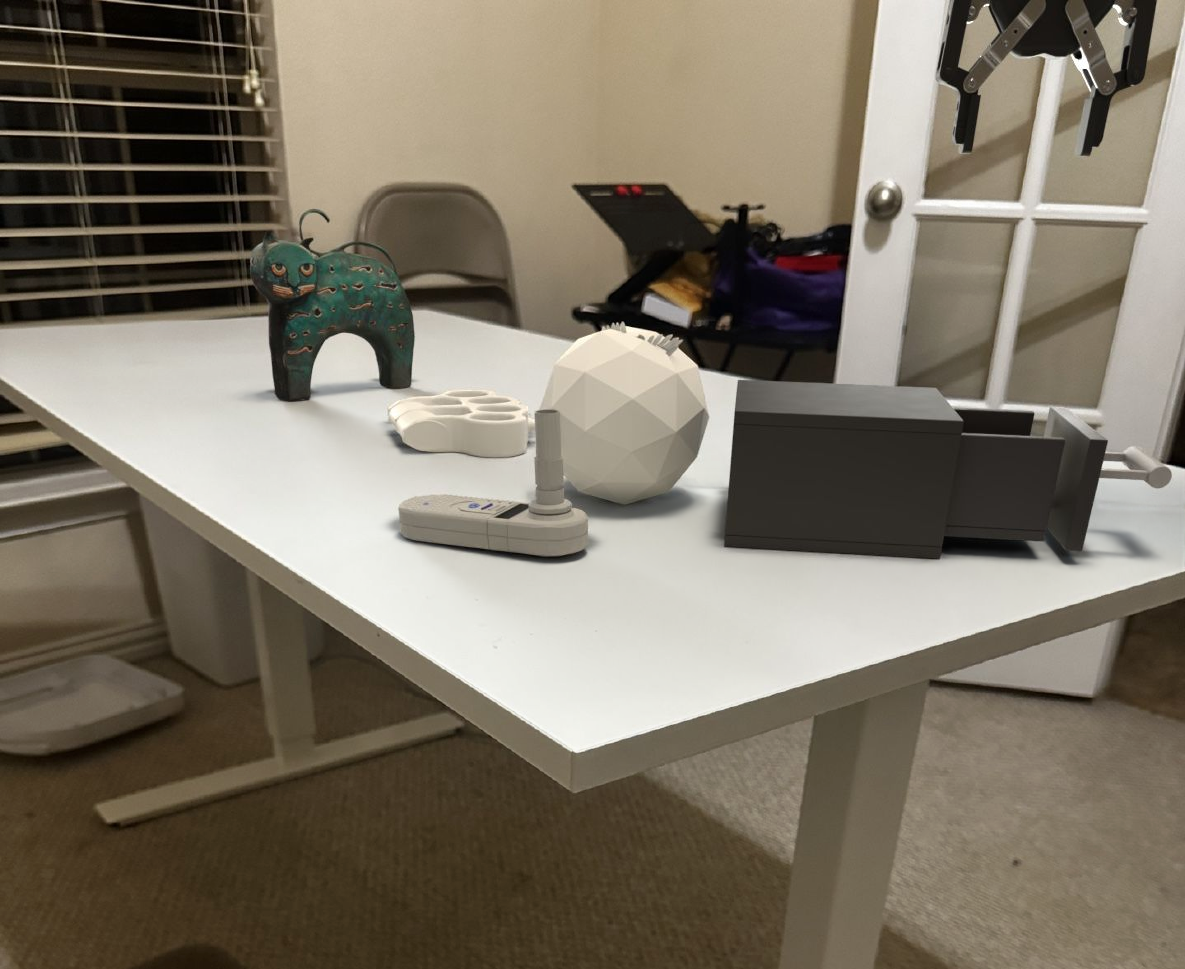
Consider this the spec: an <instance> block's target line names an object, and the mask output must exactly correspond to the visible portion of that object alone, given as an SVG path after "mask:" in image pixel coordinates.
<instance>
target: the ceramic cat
mask: <svg viewBox="0 0 1185 969" xmlns="http://www.w3.org/2000/svg"><path fill="white" fill-rule="evenodd" d="M313 213H314V214H318V215H320V216H321V217H322V218H324V220H325V221H326V223H327V224H329V223H330V222H331V221H330V218H329V215H327V213H326V212H325V211H323V210H321V209H318V208H311V209H308V210H306V211H304V212H303V213H302V214H301V215H300V218H299V220H298V232H299V238H300V240H299V241H296V242H295V241H294V242H290V241H287V240H282V239H278V238H277V237H276V236H275V235H274V233H273V231H271V229H268V230H267V231H266V232H265V233H264V235H263V236H264V237H263V239H262V242H261V243H259V244H257V245H256V246H255V247H254V248H253V249H252V251H251V254H250V257H249V260H250V262H249V263H250V265H249V271H250V272H249V273H250V278H251V281H252V284H253V286H254V287H255V289H256V290H257V291H258V293H259V294H260V295H261V296H262V297H264V298H265V299H266V301H267V303H268V314H267V315H268V320H267V322H268V332H267V333H268V334H267V336H268V347H269V348H268V349H269V353H270V362H271V369H272V370H271V372H272V380H273V388H274V394H275V397H276V398H278V399H280V400H282V401H287V402H298V401H306V400H310V398H311V391H312V390H311V389H312V388H311V384H312V378H313V376H312V375H313V369H314V365H315V363H316V359H317V357H318V355H319V353H320V350H321V349H322V347H323V345H324V344H325V342H326V341H327V340H328V339H330V338H332V337H334V336H336V335H339V334H352V335H355V336H358V337H359V338H362V339H363V340H364V341H365V342H367V343H368V344H369V346H371V348H372V349H373V351H374V355H375V360H376V363H377V369H378V381H379V385H380V386H381V387H385V388H387V389H405V388H409V387H411V386H412V378H413V376H412V375H413V359H414V348H415V341H416V340H415V338H416V336H415V335H416V334H415V323H414V315H413V310H412V307H411V303H410V300H409V298H408V297H407V294H406V291H405V289H404V286H403V284H402V282H401V280H400V278H399V275H398V271H397V267H396V265H395V262H394V259H393V258H392V256H391V255H390V253H389V252H388V251H387V250H386V248H384V247H382V246H379V245H378V244H375V243H372V242H367V241H359V240H355V241H350V242H347V243H344V244H342V245H340V246H338V247H335V248H333V249H330V250H329V251H326V252H319V251H317V250H314V249H312V248H311V247H310V245H311V243H312V242H313V241H314V237H306V238H304V236H303V231H302V230H303V229H302V225H303V221H304V219H305V218H306V216H307V215H309V214H313ZM352 246H364V247H368V248H372V249H374V250H377V251H379V252H380V253H382V254H383V256H385V258H386V259H387V260H388V261H389V263H390V265H391V268H392V269H391V268H390V267H388V266H387V265H386V264H384V263H383V262H382V261H380V260H379V259H377V258H375V257H371V256H369V255H368V256H367V255H364V254H359V253H352V252H347V251H345V250H346V249H347V248H349V247H352Z"/></svg>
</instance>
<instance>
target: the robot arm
mask: <svg viewBox="0 0 1185 969" xmlns="http://www.w3.org/2000/svg"><path fill="white" fill-rule="evenodd" d="M1157 3H1158V0H949V3H948V8H947V12H946V18H945V24H944V28H943V33H942V37H941V38H942V39H941V44H940V49H939V53H938V57H937V58H938V59H937V65H936V69H935V75H934V78H935V81H936V83H937V84H939V85H943V86H945V87H948V88H949V89H952V90H953V91H954V92H955V93H956V106H955V112H954V120H953V125H952V126H953V127H952V131H951V139H952V144H953V145H958V154H959V155H960V154H961V155H963V154H965V155H970V154H972V152H973V147H974V143H975V136H976V130H977V124H978V118H979V117H978V116H979V110H980V105H981V99H982V98H981V97H982V94H979V89H980V87H982V85H983V84H984V83H985V82H986V80H987V79H988V78H989V77H990V76H991V74H992V73H993V72H994V71H995V69H996V68H997V67H998V66H1000V64H1001V63H1002V62H1003V61H1004V60H1005V58H1007V56H1008V55H1009V54H1010V55H1011V56H1012V57H1015V59H1016V60H1028V59H1031V58H1035V57H1041V58H1043V59H1046V60H1047V59H1048V60H1062V59H1065V58H1067V57H1069V56H1071V58H1072V60H1073V62H1074V64H1075V66H1076V68H1077V70H1078V71H1080V73H1081V75H1082V77H1083V79H1084V81H1085V83H1086V87H1087V88H1088V90H1089V97H1088V98H1085V99H1084V103H1083V109H1082V113H1081V118H1080V123H1079V129H1078V134H1077V139H1076V144H1075V147H1074V148H1075V149H1074V157H1077V158H1078V157H1079V158H1081V157H1085V158H1086V157H1087V158H1089V157H1090V156H1091V155H1092V152H1093V148H1099V147H1100V146H1101V143H1102V142H1103V139H1104V134H1105V129H1106V124H1107V121H1108V116H1109V110H1110V106H1111V101H1112V99H1113V97H1114V96H1115V95H1116V94H1117V93H1118V92H1120V91H1124V90H1126V89H1128V88H1131V87H1134V86H1137V85H1139V84H1141V83H1142V82H1143V80H1144V79H1145V76H1146V71H1147V70H1146V69H1147V64H1148V59H1149V51H1150V45H1151V41H1152V40H1151V39H1152V33H1153V27H1154V23H1155V22H1154V21H1155V16H1156V10H1157ZM984 7H988V11H989V13H990V16H991V18H992V20H993V22H994V25H995V27H996V29H997V31H998V33H997V34H996V36H994V38H993V39H992V40H991V42H989V44H988V45H987V47H986V48H985V49H984V50H983V51H982V52H981V54H980V55H979V57H978V58H977V60H976V61H975V62H974V63H973V64H972V66H971V67H970V68H969V69H968V70H966V69H964V68H961V67H960V66H959V64H960V60H961V59H960V58H961V54H962V50H963V45H964V44H963V43H964V39H965V34H966V29H967V24H971V23H973V22H974V21H975V20H977V18H978V17H979V14H980V11H981V10H982V8H984ZM1113 8H1115V9H1116V11H1117V16H1118V21H1119V24H1121V25H1123V26H1125V29H1124V35H1123V40H1122V48H1121V54H1120V61H1119V68H1118V71H1115V72H1113V70H1112V68H1111V66H1110V64H1109V61H1108V59H1107V54H1106V50H1105V48H1104V45H1103V43H1102V41H1101V39H1100V37H1099V35H1098V32H1097V30H1096V28H1097V27H1098V26H1099V25H1100V23H1101V22H1102V21H1103V20H1104V19H1105V18H1106V16H1107V15H1108V14H1109V12H1110V11H1111V10H1112V9H1113Z"/></svg>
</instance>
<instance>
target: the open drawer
mask: <svg viewBox="0 0 1185 969" xmlns="http://www.w3.org/2000/svg"><path fill="white" fill-rule="evenodd" d="M952 408H953V409H954V410H955V411H956V412H957V414H958V415H959V416H960V417H961V419H962V420H963V421H964V423H963V429H962V434H961V441H960V447H959V452H958V458H957V464H956V470H955V476H954V481H953V487H952V493H951V499H950V504H949V510H948V516H947V522H946V527H945V533H944V537H953V538H970V539H988V540H990V539H991V540H1005V541H1007V540H1008V541H1025V542H1026V541H1027V542H1028V541H1029V542H1044V541H1045V537H1046V533H1047V530H1048V531H1049V533H1051V535H1052V536H1053V537H1054V538H1055V540H1056V541H1057V542H1058V543H1059V545H1060V546H1061V547H1062V548H1063V549H1064V550H1065V551H1068V552H1083V549H1084V545H1085V541H1086V536H1087V533H1088V529H1089V528H1088V527H1089V524H1090V520H1091V517H1092V516H1091V514H1092V511H1093V507H1094V502H1095V499H1096V494H1097V490H1098V485H1099V483H1100V482H1099V481H1100V479H1112V480H1113V479H1114V480H1131V481H1132V480H1133V481H1134V480H1135V481H1143V482H1145V484H1147V485H1149V486H1150V487H1151V488H1153V489H1163V488H1165V487H1166V486H1167V485H1169V484H1170V482H1171V481H1172V479H1173V478H1172V477H1173V472H1172V470H1171V469H1170V468H1169V467H1168V466H1166V465H1165V464H1164V463H1162V462H1161V461H1159V459H1158V458H1157V459H1156V458H1155V457H1154V456H1153V455H1151V454H1149V453H1148V452H1147V451H1145V450H1144V449H1143V448H1142V447H1140V446H1138V445H1132V446H1129V447H1127V448H1125V450H1124V451H1123V452H1122V451H1121V452H1118V451H1107V447H1108V443H1109V439H1107V438H1106V437H1104V435H1102V434H1101V433H1099V432H1098V431H1097V430H1095V428H1093V427H1091V425H1089V424H1088V423H1087V422H1085V421H1084V420H1082V419H1081V418H1080V417H1078V416H1077V415H1076V414H1075V413H1074V412H1072V411H1070V410H1069V409H1068V408H1066V407H1065V406H1049V409H1048V414H1047V419H1046V423H1045V428H1044V432H1043V433H1044V434H1043V436H1038V435H1037V436H1036V435H1031V434H1032V429H1033V424H1034V419H1035V415H1036V414H1035V411H1033V410H1022V409H1021V410H1020V409H1000V408H999V409H997V408H974V407H971V408H970V407H953V406H952ZM1104 462H1115V463H1116V462H1119V463H1122V464H1123V465H1124V466H1125V467H1126V468H1127V469H1125V468H1123V469H1122V468H1106V467H1105V468H1103V464H1104Z"/></svg>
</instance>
